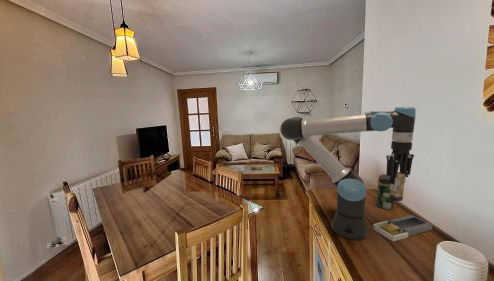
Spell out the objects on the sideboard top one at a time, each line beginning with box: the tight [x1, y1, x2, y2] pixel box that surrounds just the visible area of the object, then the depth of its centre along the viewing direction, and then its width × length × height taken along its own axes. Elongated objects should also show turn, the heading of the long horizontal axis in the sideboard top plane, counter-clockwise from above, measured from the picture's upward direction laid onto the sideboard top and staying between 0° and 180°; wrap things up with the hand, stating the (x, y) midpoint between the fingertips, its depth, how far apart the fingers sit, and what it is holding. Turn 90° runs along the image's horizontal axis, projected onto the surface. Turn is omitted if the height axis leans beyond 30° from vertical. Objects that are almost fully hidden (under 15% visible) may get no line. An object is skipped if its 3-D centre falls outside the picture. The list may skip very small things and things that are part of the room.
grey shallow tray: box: [387, 214, 433, 237], centre depth 96 cm, size 16×9×3 cm, turn 107°
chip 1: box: [381, 225, 396, 236], centre depth 92 cm, size 3×4×3 cm
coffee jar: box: [376, 173, 394, 210], centre depth 116 cm, size 10×8×19 cm
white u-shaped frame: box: [371, 220, 409, 242], centre depth 92 cm, size 9×10×2 cm
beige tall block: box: [389, 171, 406, 202], centre depth 95 cm, size 4×4×13 cm
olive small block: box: [387, 223, 401, 235], centre depth 93 cm, size 3×4×3 cm
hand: (396, 189), depth 95 cm, fingers closed on beige tall block, 4 cm apart
